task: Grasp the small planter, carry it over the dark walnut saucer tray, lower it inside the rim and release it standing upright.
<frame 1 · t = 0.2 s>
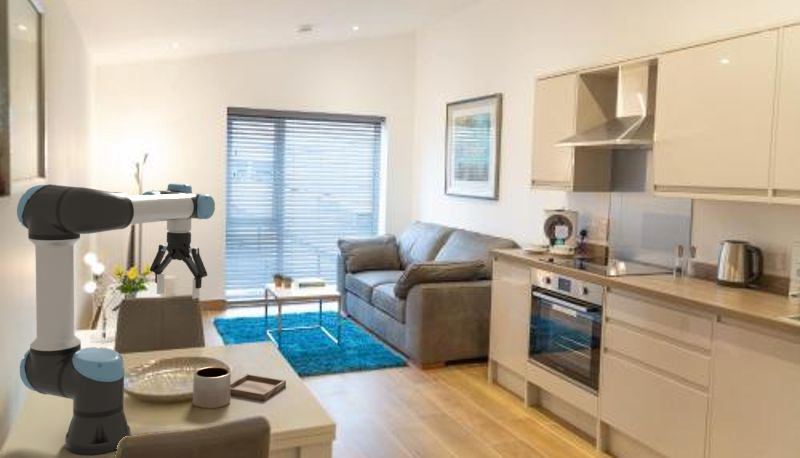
hand: (177, 295, 215), 28 cm above the table, fingers open, 13 cm apart
tray: (254, 389, 210), on the table
planter: (211, 403, 198), on the table
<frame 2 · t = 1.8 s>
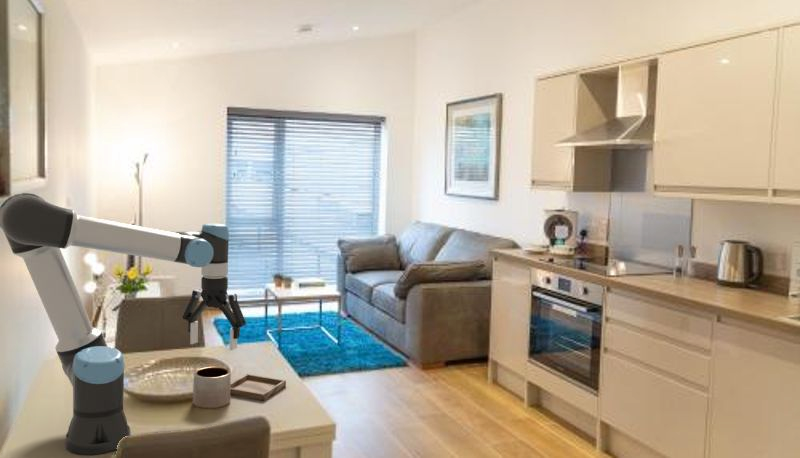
hand: (213, 346, 196), 17 cm above the table, fingers open, 13 cm apart
nothing on the table moved.
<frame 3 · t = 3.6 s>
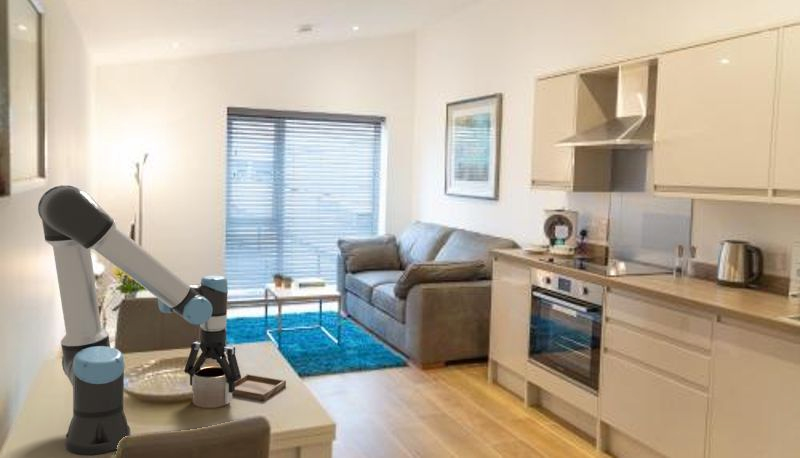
hand: (211, 399, 197), 1 cm above the table, fingers closed on planter, 11 cm apart
planter: (211, 403, 198), on the table, touching gripper
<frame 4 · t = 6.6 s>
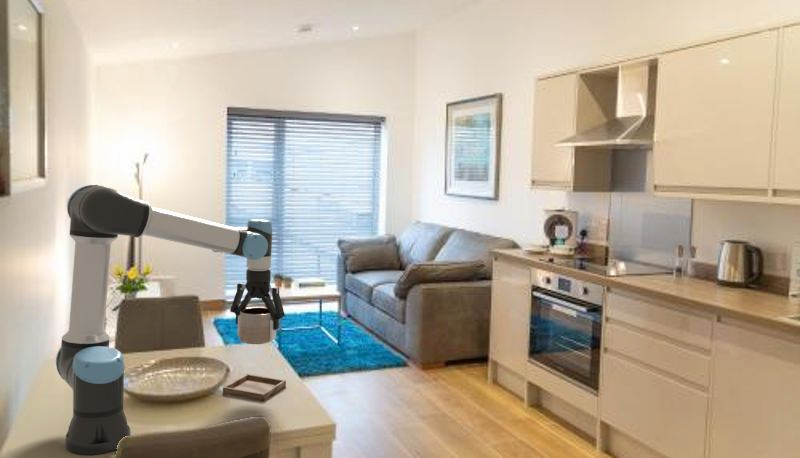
hand: (256, 337, 208), 17 cm above the table, fingers closed on planter, 11 cm apart
planter: (256, 340, 208), point 16 cm above the table, touching gripper
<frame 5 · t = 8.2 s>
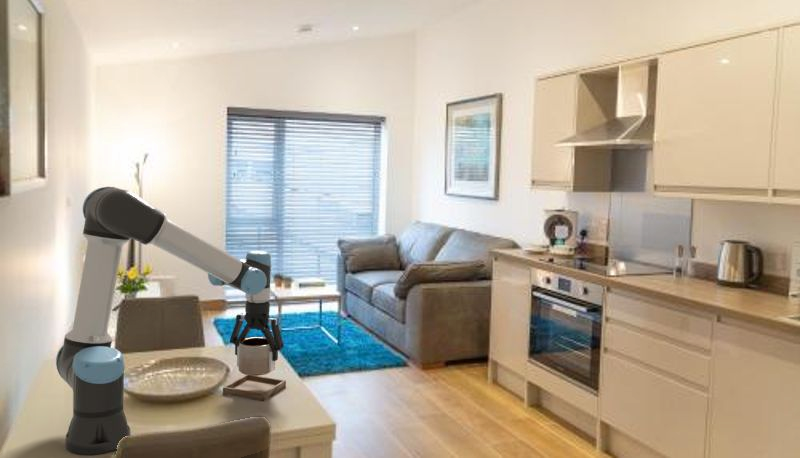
hand: (255, 367, 209), 7 cm above the table, fingers closed on planter, 11 cm apart
planter: (255, 371, 209), point 6 cm above the table, touching gripper
when the fingers open (3 cm above the table, at t = 9.7 s): planter drops 1 cm, resting on tray.
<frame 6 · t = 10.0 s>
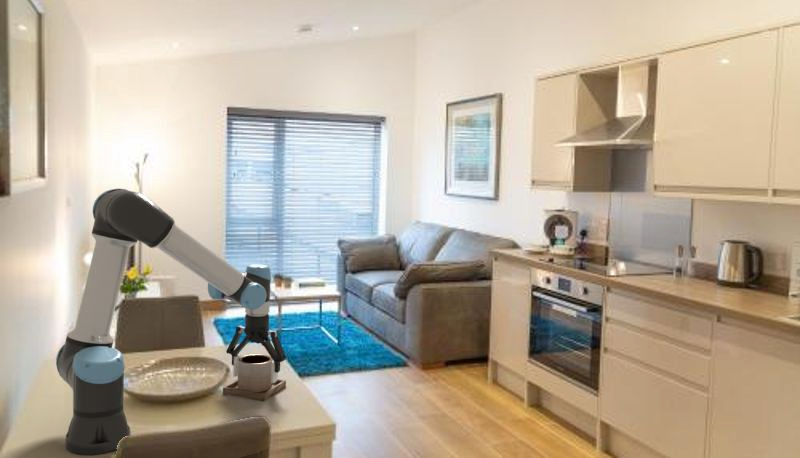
hand: (255, 378, 210), 4 cm above the table, fingers open, 13 cm apart
planter: (254, 388, 210), resting on tray
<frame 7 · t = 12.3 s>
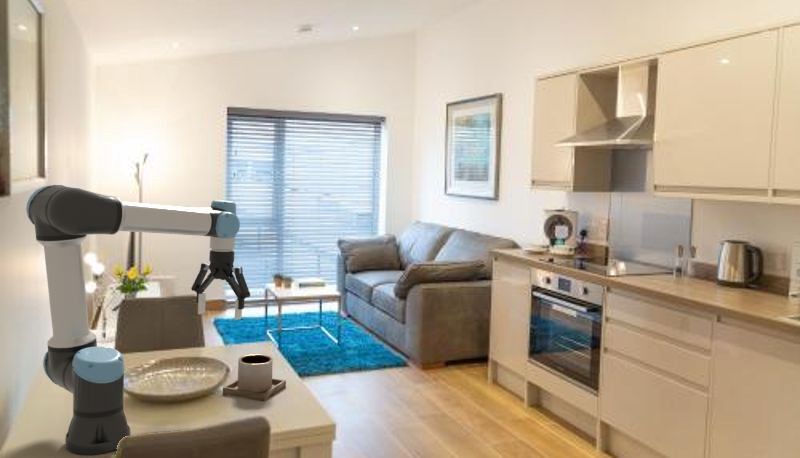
hand: (219, 316, 207), 23 cm above the table, fingers open, 13 cm apart
nothing on the table moved.
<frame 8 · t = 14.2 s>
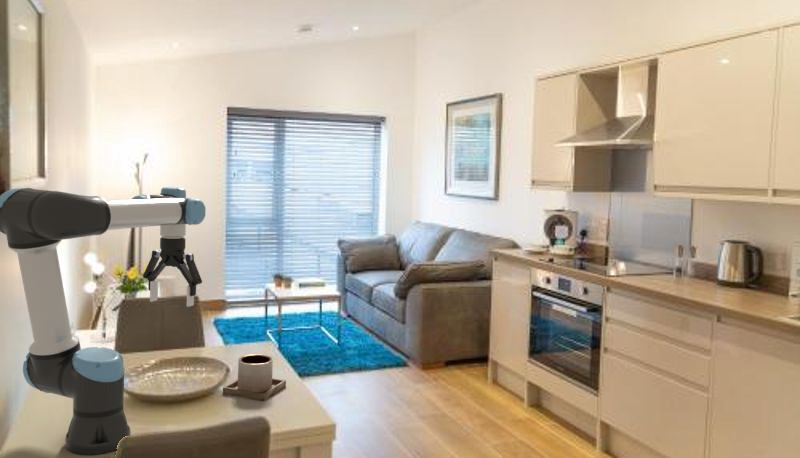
hand: (171, 303, 207), 27 cm above the table, fingers open, 13 cm apart
nothing on the table moved.
at the end: planter inside the target area on the tray (0.1 cm from its centre), point 0.4 cm above the tray's base; planter tilted 0°; the gripper is holding nothing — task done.
